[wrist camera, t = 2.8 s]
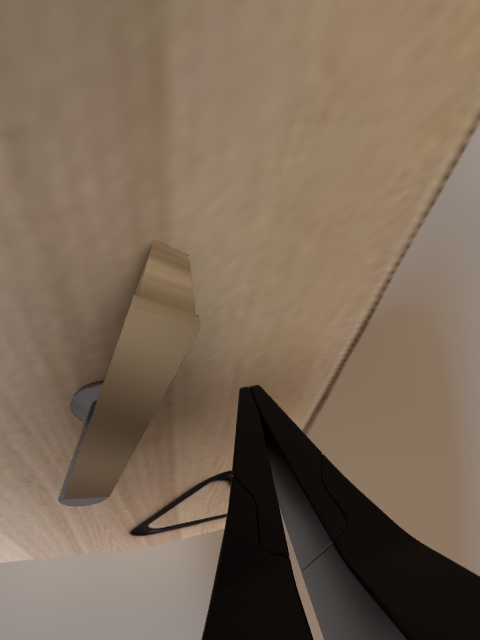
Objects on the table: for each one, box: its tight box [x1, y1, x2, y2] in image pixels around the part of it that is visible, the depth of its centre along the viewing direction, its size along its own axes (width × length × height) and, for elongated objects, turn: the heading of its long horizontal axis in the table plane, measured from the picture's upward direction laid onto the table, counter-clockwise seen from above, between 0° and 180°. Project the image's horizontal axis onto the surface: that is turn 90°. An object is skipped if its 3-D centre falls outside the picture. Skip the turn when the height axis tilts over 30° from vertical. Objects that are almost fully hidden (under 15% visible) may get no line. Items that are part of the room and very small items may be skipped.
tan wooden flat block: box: [64, 240, 200, 499], centre depth 10 cm, size 10×2×6 cm, turn 151°
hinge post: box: [58, 381, 108, 506], centre depth 13 cm, size 4×4×6 cm
